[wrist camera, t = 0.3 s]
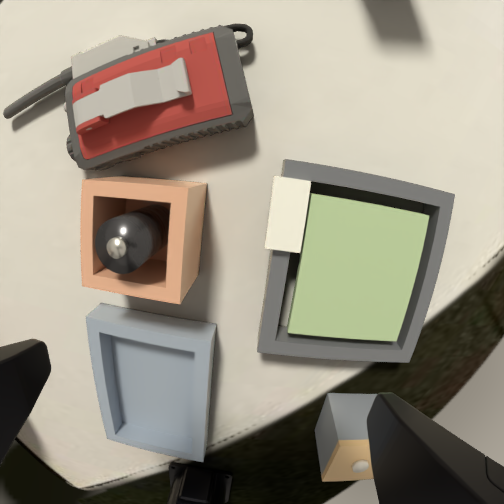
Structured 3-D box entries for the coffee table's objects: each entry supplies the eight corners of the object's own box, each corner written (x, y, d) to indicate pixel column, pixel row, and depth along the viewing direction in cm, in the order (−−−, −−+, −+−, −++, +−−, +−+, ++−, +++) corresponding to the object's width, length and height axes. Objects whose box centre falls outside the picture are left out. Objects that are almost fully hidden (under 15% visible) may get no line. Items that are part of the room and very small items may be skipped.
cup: (198, 274, 21) (179, 304, 16) (117, 261, 21) (82, 285, 16) (207, 183, 20) (188, 187, 15) (121, 175, 20) (82, 179, 15)
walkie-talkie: (245, 10, 17) (14, 104, 19) (240, -23, 13) (-21, 100, 14) (275, 124, 19) (28, 202, 21) (277, 112, 15) (-8, 210, 17)
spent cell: (174, 250, 20) (141, 280, 14) (135, 244, 20) (91, 271, 14) (177, 206, 19) (143, 222, 14) (136, 202, 19) (91, 216, 14)
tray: (207, 442, 25) (203, 462, 23) (116, 421, 25) (107, 438, 23) (216, 323, 22) (210, 341, 20) (101, 302, 22) (85, 316, 20)
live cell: (361, 430, 24) (377, 482, 18) (314, 429, 24) (322, 485, 18) (377, 393, 23) (400, 447, 17) (327, 392, 23) (340, 450, 17)
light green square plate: (392, 335, 20) (396, 341, 19) (287, 327, 20) (287, 332, 20) (423, 213, 18) (429, 215, 17) (309, 192, 18) (311, 194, 17)
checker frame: (399, 347, 22) (411, 366, 19) (251, 334, 22) (248, 355, 20) (438, 191, 19) (459, 195, 16) (275, 159, 19) (276, 157, 16)
